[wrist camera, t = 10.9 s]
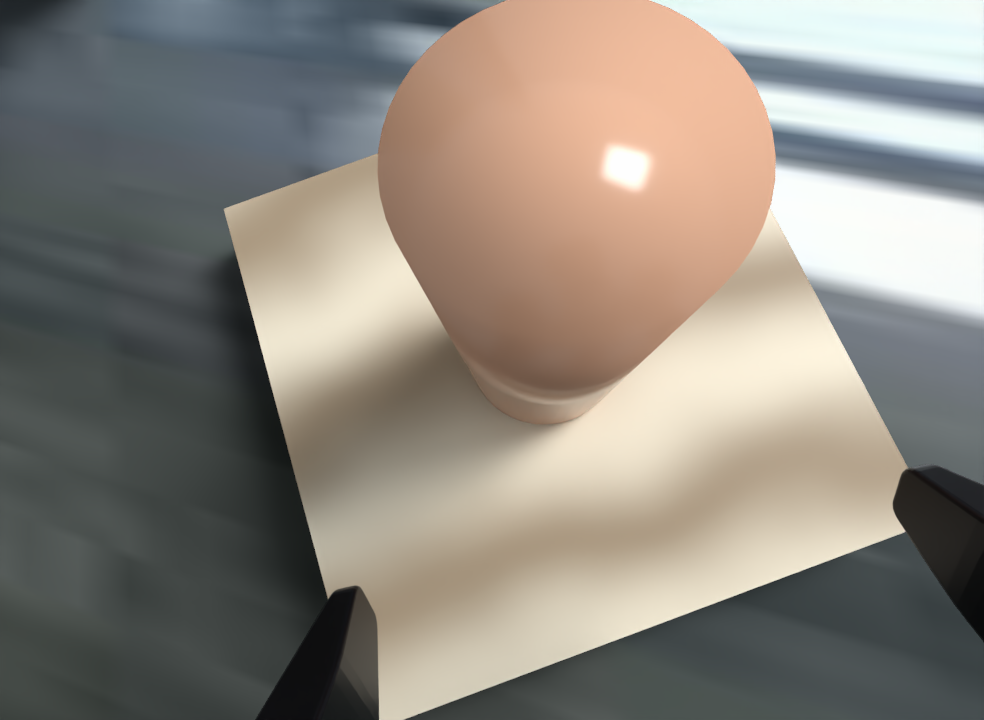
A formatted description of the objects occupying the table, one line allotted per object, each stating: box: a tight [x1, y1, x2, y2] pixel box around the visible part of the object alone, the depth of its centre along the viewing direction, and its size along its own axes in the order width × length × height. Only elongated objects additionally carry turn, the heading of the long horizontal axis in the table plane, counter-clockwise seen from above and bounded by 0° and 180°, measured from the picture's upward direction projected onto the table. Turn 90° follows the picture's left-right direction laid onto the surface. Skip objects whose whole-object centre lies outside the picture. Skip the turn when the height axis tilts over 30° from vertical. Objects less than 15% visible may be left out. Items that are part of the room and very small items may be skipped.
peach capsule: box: [377, 0, 775, 425], centre depth 12 cm, size 5×5×11 cm
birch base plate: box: [224, 154, 908, 720], centre depth 19 cm, size 18×18×2 cm
